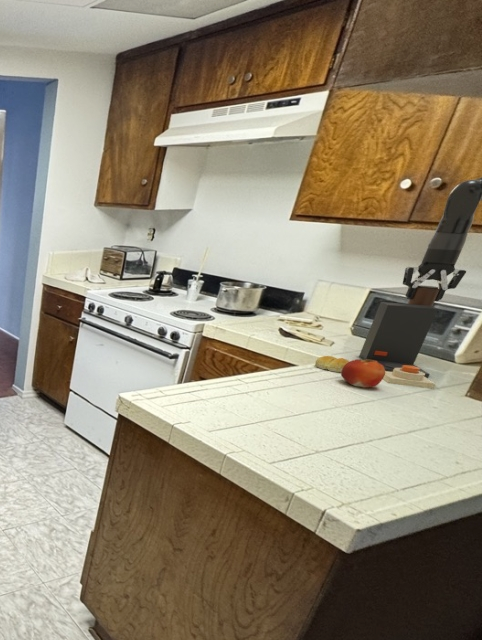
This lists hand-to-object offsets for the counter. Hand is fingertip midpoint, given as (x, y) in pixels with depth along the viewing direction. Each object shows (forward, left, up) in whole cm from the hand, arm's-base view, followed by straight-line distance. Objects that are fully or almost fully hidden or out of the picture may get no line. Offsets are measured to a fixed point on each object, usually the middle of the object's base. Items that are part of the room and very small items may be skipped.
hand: (422, 299), depth 157 cm
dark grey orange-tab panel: (+6, +14, -21) cm, 26 cm away
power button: (+8, +31, -18) cm, 37 cm away
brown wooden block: (0, 0, -7) cm, 7 cm away
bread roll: (+24, +26, -21) cm, 41 cm away
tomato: (+22, +42, -21) cm, 52 cm away
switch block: (+8, +31, -21) cm, 38 cm away
